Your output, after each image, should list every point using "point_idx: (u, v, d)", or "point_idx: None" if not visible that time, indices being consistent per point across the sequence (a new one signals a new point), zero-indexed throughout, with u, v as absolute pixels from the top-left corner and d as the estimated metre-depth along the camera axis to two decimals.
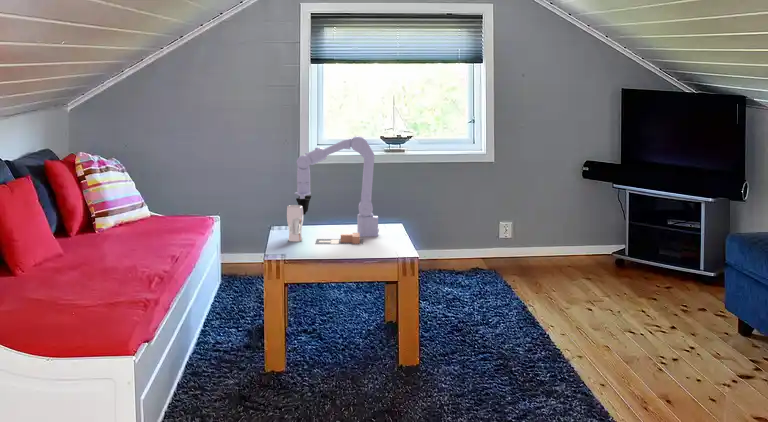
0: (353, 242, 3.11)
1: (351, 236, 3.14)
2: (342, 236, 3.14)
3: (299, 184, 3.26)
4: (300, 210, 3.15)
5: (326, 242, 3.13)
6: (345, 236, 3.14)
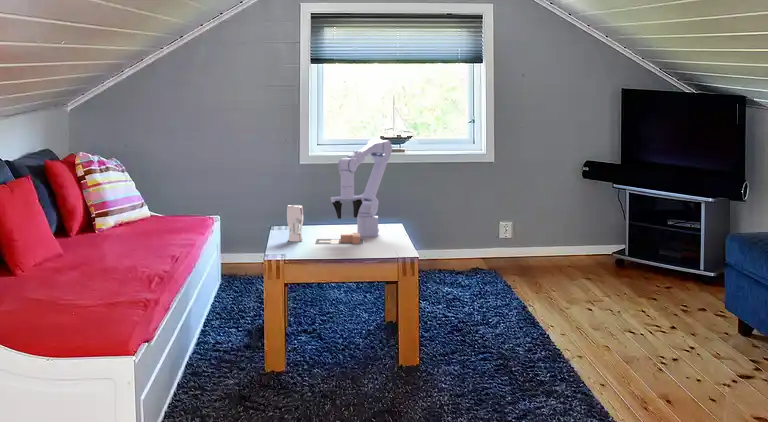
0: (353, 242, 3.11)
1: (351, 236, 3.14)
2: (342, 236, 3.14)
3: None
4: (300, 210, 3.15)
5: (326, 242, 3.13)
6: (345, 236, 3.14)
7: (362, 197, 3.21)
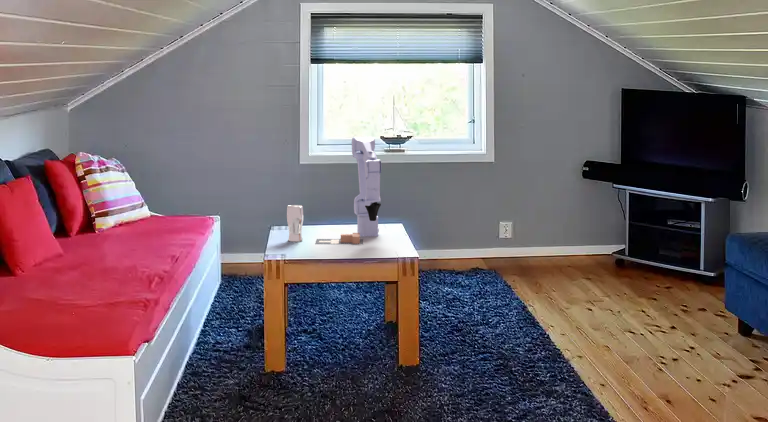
0: (353, 242, 3.11)
1: (351, 236, 3.14)
2: (342, 236, 3.14)
3: (367, 190, 3.11)
4: (300, 210, 3.15)
5: (326, 242, 3.13)
6: (345, 236, 3.14)
7: (380, 198, 3.19)
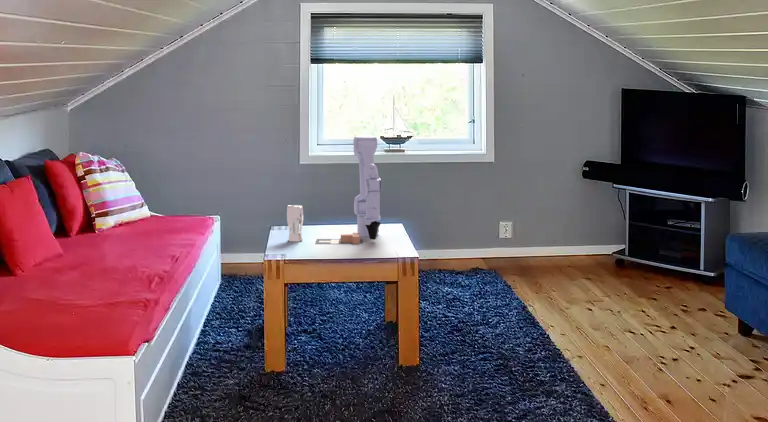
0: (353, 242, 3.11)
1: (351, 236, 3.14)
2: (342, 236, 3.14)
3: (367, 209, 3.12)
4: (300, 210, 3.15)
5: (326, 242, 3.13)
6: (345, 236, 3.14)
7: (380, 217, 3.20)
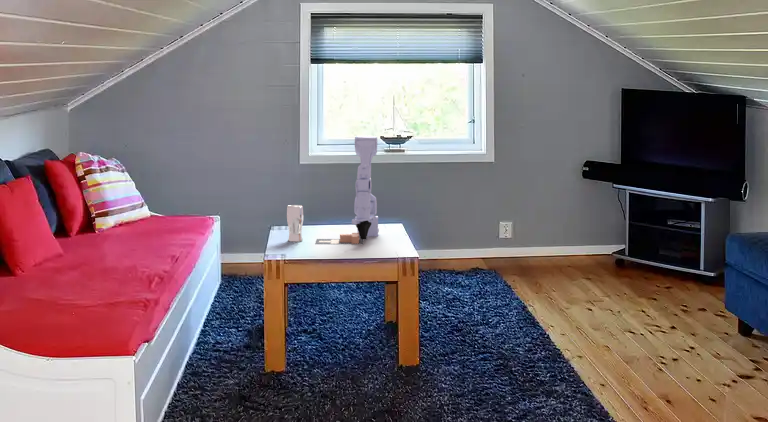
0: (352, 242, 3.11)
1: (350, 236, 3.14)
2: (341, 236, 3.14)
3: (357, 209, 3.13)
4: (300, 210, 3.15)
5: (326, 242, 3.13)
6: (344, 236, 3.14)
7: (373, 217, 3.19)
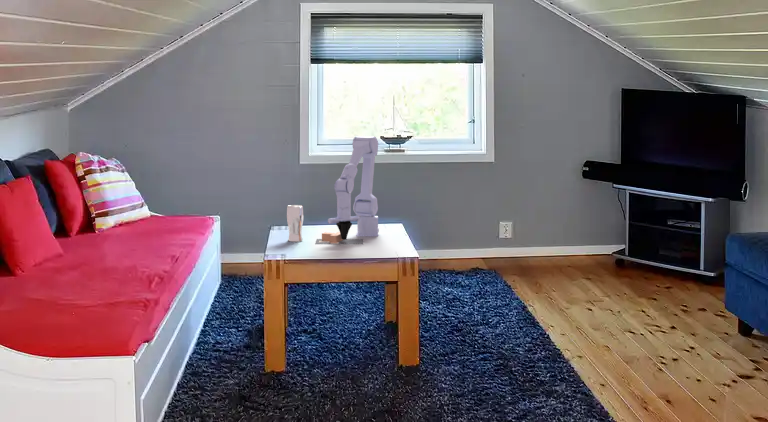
0: (330, 241, 3.13)
1: (331, 235, 3.16)
2: (323, 234, 3.17)
3: (337, 208, 3.14)
4: (300, 210, 3.15)
5: (326, 242, 3.13)
6: (326, 235, 3.17)
7: (358, 218, 3.17)
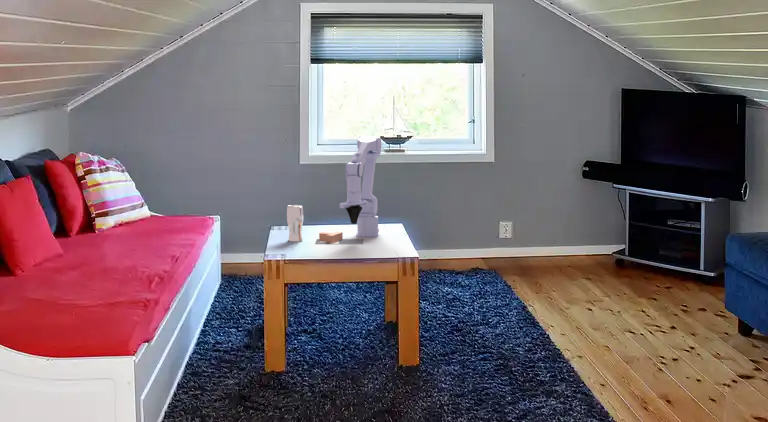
0: (327, 241, 3.13)
1: (328, 235, 3.16)
2: (320, 234, 3.18)
3: (347, 193, 3.12)
4: (300, 210, 3.15)
5: (326, 242, 3.13)
6: (323, 234, 3.17)
7: (367, 202, 3.17)
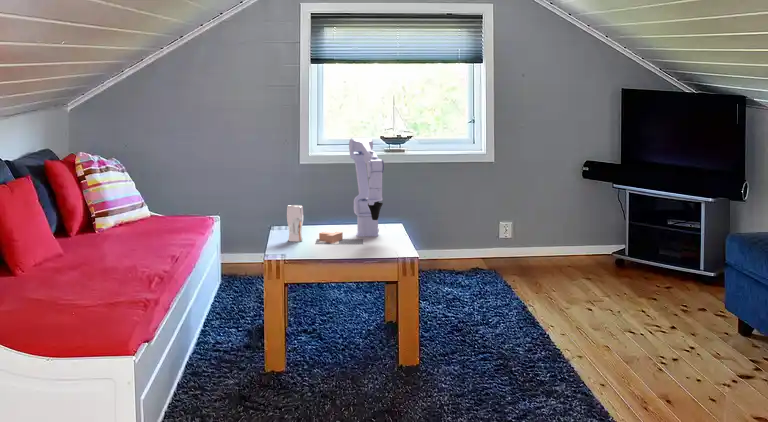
0: (327, 241, 3.13)
1: (328, 235, 3.16)
2: (320, 234, 3.18)
3: (370, 190, 3.13)
4: (300, 210, 3.15)
5: (326, 242, 3.13)
6: (323, 234, 3.17)
7: None
